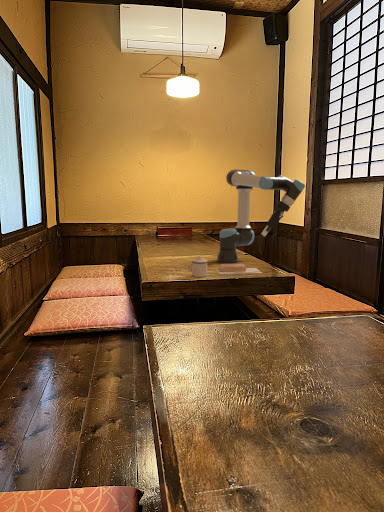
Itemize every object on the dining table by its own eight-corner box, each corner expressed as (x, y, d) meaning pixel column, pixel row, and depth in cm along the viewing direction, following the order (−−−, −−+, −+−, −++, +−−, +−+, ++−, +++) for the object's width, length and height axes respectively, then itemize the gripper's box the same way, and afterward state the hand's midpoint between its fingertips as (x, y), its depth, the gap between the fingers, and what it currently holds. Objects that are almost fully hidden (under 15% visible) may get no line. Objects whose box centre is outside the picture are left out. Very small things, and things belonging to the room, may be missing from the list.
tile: (242, 268, 231) (220, 268, 230) (242, 263, 231) (220, 263, 230) (246, 271, 222) (223, 271, 220) (246, 266, 221) (223, 266, 220)
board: (214, 268, 235) (214, 267, 235) (254, 268, 237) (254, 266, 237) (219, 275, 215) (219, 273, 215) (262, 274, 217) (262, 272, 217)
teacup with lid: (208, 274, 218) (208, 255, 216) (206, 277, 209) (207, 257, 207) (188, 273, 220) (188, 254, 218) (186, 277, 211) (186, 257, 209)
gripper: (293, 208, 217) (270, 241, 222) (287, 205, 229) (265, 235, 235) (284, 201, 215) (260, 234, 221) (277, 198, 228) (255, 229, 233)
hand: (263, 235), depth 228 cm, fingers closed
